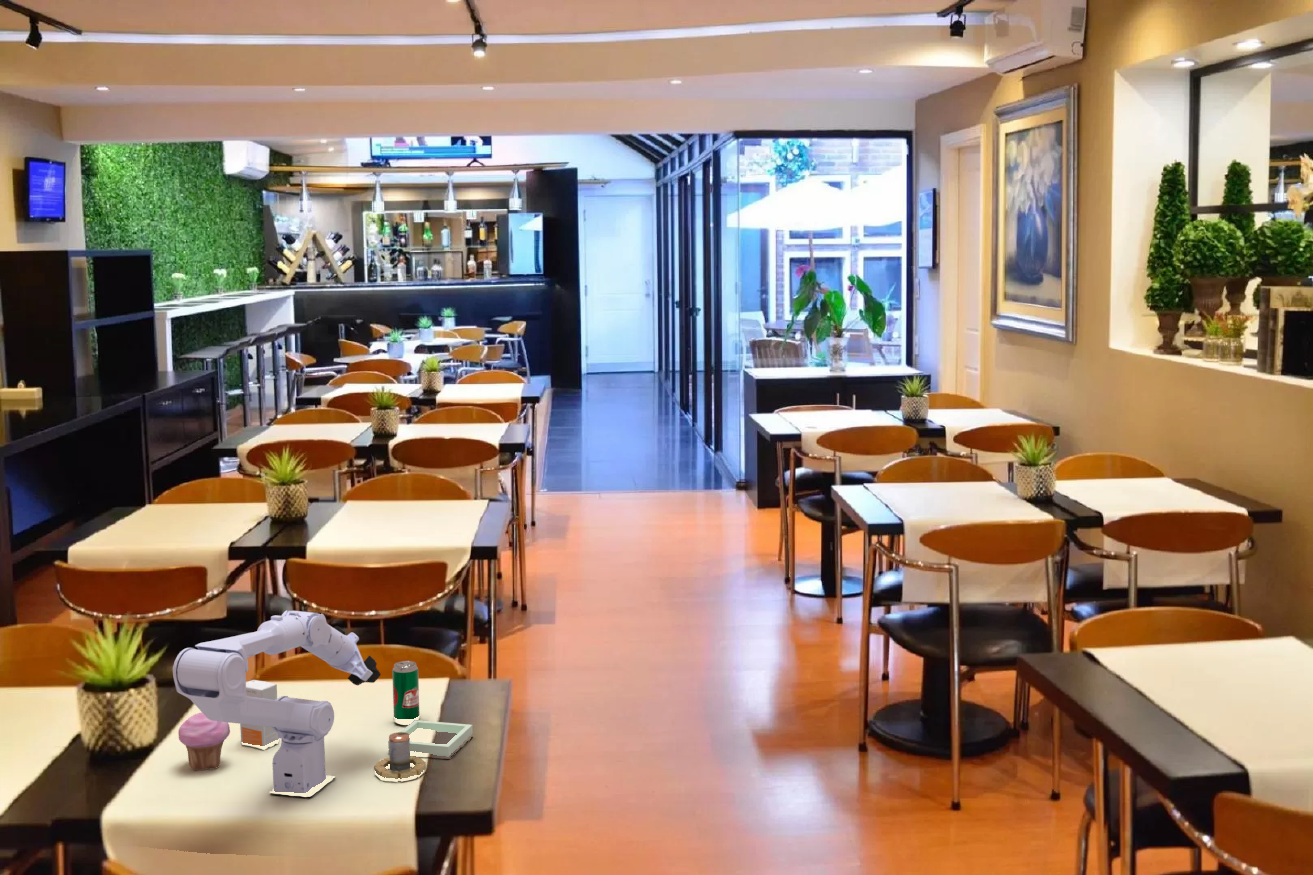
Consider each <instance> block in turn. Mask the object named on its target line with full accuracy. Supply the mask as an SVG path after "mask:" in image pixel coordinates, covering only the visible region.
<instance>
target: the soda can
mask: <svg viewBox="0 0 1313 875" xmlns="http://www.w3.org/2000/svg"><path fill="white" fill-rule="evenodd" d="M391 670H392V671H391V672H392V699H393V700H392V702H393V703H392V704H393V705H392V706H393V718H394V717H395V718H397V719H414V718H416V717H418V716H419V715H420V687H419V686H420V684H419V668H418V666H417V662H415V661H413V660H401V661H398V662H395V663H394V664H393V668H392V669H391Z"/></svg>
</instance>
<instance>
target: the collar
mask: <svg viewBox="0 0 1313 875" xmlns="http://www.w3.org/2000/svg"><path fill="white" fill-rule="evenodd" d="M410 763H413V764H414V765H415V766H414V767H413V768H410V769H406V770H401V771H395V770H390V769H389V770H387V769H386V768H385V767H386V766H388V764H390V756H389V757H386V758H383V759H380V760H379V761H378V762H376V764H374V767H373V771H374V770H375V771H376V773H377V774H378V775H380V776H382V777H384V778H385V777H386V778H395V779H398V778H400V779H402V778H408V777H410V776H414V775H420V774H421V772H423V770H425V769H426V770H427V762H425V760H423V758H422V757H416V756H410Z"/></svg>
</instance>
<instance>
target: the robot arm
mask: <svg viewBox="0 0 1313 875" xmlns="http://www.w3.org/2000/svg"><path fill="white" fill-rule="evenodd" d="M359 641H360V637H359V636H358V635H357V634H356V633H354V632H350V633H348V634H346V632H345V631H344V630H343V629H342V628H341V627H340V626H338V625H335V626H334V627H333V626H331V625H330V624H328V622H327V619H326V616H325V615H324V614H323V613H321V614H320V613H319V612H312V611H300V610H287V609H286V610H285V611H283V613H282V614H281V615H278V614H277V615H272V616H270V620H267V621H264V622H262V623H261V624H260V625H259V626H258V628H257V631H254V632H248V633H243V634H238V635H235V636H230V637H224V638H220V639H215V640H211V641H205V642H200V643H197V644H195V648H194V647H186V648H184V649H182V650H181V651H179V653H178V654H177V656H176V658H175V660H174V663H173V666H172V676H173V677H172V678H173V682H174V685H175V690H176V692H177V693H178V694H180V695H182V696H184V697H186V698H187V699H189V700H190V701H191V703H193V704H194V705H195V706H196V707H197V708H198V709H199V711H200V713H203V714H204V715H205V716H206V717H207V718H208V719H210V720H213V721H221V722H228V724H229V723H230V724H231V723H232V724H238V725H239V724H249V725H259V726H270V727H272V728H273V730H274V731H276V732H278V738H279V739H281V742H280V746H279V748H278V750H277V751H276V752H275V753H274V755H273V756H272V757H273V758H272V780H273V782H272V783H273V788H274V791H275V792H294V793H306V792H308V791H309V790H310V789H311V788H312V787H315V786H316V785H318V784H320V783H322V782H323V781H324V780H325V779H326V775H327V774H326V755H325V753H326V752H325V749H326V748H325V737H326V736H327V735H328V734H329V733H330V731H331V730H332V728H333V725H334V723H335V722H334V721H335V710H334V707H333V705H332V704H331V702H329V701H327V700H315V699H314V700H313V699H305V698H298V697H289V696H288V695H281V696H279V697H277V699H276V700H271V699H263V698H256V697H248V696H246V682H247V678H246V677H247V674H246V673H248V671H249V662H248V660H249V659H250V657H254V656H255V655H258V654H261V653H264V654H266V655H271V656H273V655H277V654H281V653H284V652H288V651H291V650H292V649H293V650H294V649H296V648H299V647H301V648H303V649H304V650H305V651H308V652H309V654H312V655H314V656H316V657H318V658H319V659H321V660H322V661H325V663H327V664H328V665H329V666H330V667H332V668H334V669H336V670H340V671H342V672H345V673H348V674H350V675H349V676H348V677H347V679H348V681H350V682H351V683H352V684H353V685H355V686H360V685H362V684H364V683H370V684H374V683H375V682H376V681H377V680H378V679H379V678H380V677H381V675H382V674H381V672H380V671H379V669H378V668H377V665H378V664H377V662H376V660H375V659H374V658H373V657H372V656H371V654H370V655H368V656H367V657H366V659H365V660H364V659H363V657H362V654H361V652H360V649H359V647H358V645H357V643H358V642H359ZM196 648H197V649H196ZM248 658H249V659H248Z"/></svg>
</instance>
